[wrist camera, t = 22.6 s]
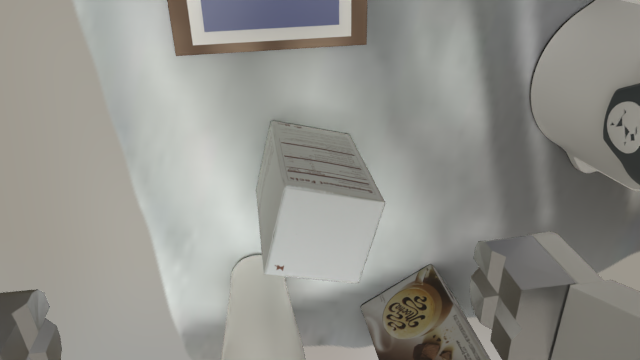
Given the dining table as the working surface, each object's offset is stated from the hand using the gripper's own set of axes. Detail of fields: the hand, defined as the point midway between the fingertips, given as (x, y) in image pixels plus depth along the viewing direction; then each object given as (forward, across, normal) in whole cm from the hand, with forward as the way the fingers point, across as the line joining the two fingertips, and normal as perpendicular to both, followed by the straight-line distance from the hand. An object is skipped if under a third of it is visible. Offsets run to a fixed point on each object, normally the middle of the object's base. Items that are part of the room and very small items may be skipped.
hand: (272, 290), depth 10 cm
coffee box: (+34, +15, -32) cm, 49 cm away
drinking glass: (+34, -1, -26) cm, 43 cm away
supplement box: (+34, +4, -14) cm, 37 cm away
